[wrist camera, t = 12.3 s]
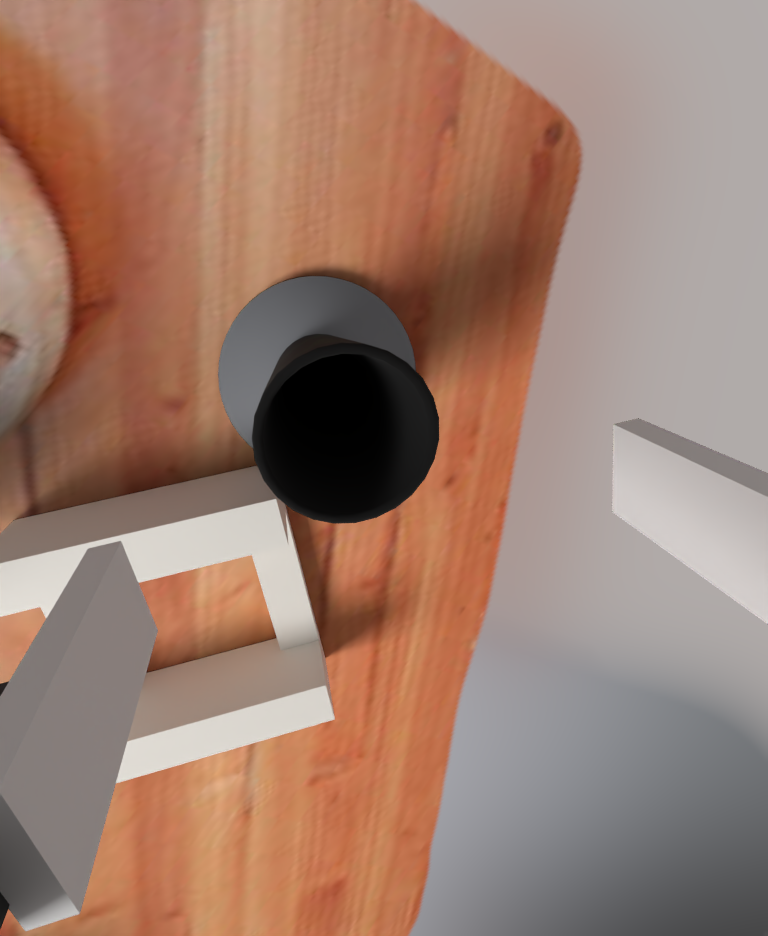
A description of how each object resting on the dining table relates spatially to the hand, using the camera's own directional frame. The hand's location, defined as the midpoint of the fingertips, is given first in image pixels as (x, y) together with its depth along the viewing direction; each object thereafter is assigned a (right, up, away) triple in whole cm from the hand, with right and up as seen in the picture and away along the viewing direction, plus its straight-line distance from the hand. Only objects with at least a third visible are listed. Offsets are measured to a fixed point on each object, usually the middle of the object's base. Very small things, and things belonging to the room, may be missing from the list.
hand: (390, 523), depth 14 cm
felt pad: (-4, +7, +19) cm, 21 cm away
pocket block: (-14, -7, +23) cm, 28 cm away
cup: (-4, +7, +19) cm, 20 cm away
